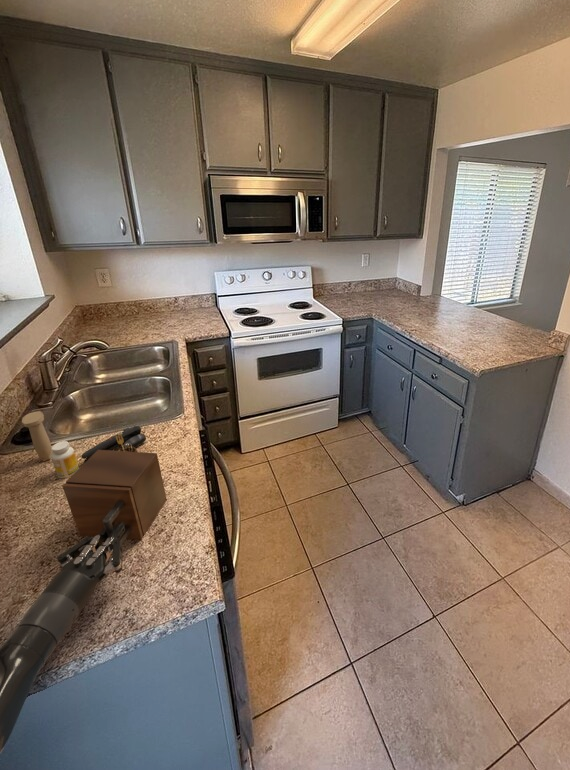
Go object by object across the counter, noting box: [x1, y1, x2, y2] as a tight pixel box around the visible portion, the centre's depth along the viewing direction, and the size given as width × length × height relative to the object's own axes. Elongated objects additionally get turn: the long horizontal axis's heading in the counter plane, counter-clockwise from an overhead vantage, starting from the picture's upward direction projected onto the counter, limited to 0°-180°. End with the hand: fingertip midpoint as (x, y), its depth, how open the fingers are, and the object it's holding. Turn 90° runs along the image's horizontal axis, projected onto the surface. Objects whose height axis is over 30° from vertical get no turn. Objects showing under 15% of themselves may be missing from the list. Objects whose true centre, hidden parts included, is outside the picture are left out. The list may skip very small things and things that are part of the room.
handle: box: [21, 410, 53, 462], centre depth 107 cm, size 5×6×15 cm
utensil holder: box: [114, 431, 138, 452], centre depth 103 cm, size 6×6×12 cm
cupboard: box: [65, 450, 168, 537], centre depth 88 cm, size 11×16×16 cm
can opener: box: [80, 425, 147, 464], centre depth 112 cm, size 18×7×6 cm, turn 135°
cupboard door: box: [61, 482, 144, 553], centre depth 79 cm, size 6×16×15 cm, turn 85°
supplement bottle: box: [51, 440, 80, 479], centre depth 103 cm, size 5×5×10 cm
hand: (117, 524), depth 79 cm, fingers closed
